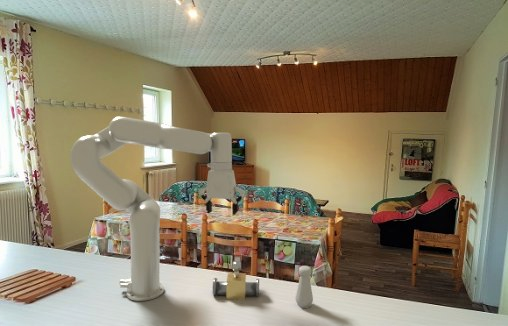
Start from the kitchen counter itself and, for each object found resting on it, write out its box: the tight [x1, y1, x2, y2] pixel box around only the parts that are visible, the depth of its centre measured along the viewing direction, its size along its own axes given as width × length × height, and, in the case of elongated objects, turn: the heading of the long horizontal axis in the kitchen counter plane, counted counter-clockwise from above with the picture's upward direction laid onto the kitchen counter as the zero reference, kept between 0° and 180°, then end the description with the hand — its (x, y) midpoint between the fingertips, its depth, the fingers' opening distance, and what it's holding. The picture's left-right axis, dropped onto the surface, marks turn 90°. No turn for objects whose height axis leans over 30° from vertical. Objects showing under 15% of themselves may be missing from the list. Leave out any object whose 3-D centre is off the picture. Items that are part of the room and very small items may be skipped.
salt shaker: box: [295, 265, 314, 309], centre depth 106 cm, size 6×6×13 cm
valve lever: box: [232, 250, 243, 272], centre depth 116 cm, size 12×3×3 cm, turn 0°
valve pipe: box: [212, 270, 260, 300], centre depth 112 cm, size 16×6×9 cm, turn 90°
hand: (222, 213), depth 116 cm, fingers open, 9 cm apart
